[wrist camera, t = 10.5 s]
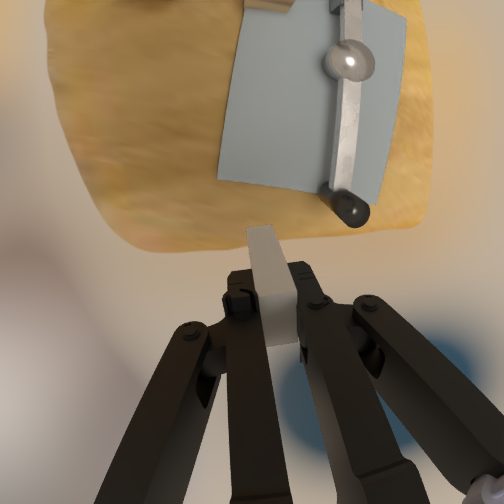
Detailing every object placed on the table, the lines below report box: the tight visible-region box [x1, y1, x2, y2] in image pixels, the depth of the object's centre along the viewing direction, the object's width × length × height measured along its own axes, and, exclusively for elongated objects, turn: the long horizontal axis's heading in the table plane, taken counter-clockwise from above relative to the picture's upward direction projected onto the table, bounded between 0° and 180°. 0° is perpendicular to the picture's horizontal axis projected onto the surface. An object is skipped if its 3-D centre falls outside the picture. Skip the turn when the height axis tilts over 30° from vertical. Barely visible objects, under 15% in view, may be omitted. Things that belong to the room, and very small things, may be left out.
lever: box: [319, 0, 375, 228], centre depth 21 cm, size 25×4×7 cm, turn 177°
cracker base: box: [217, 0, 407, 205], centre depth 24 cm, size 25×18×3 cm
